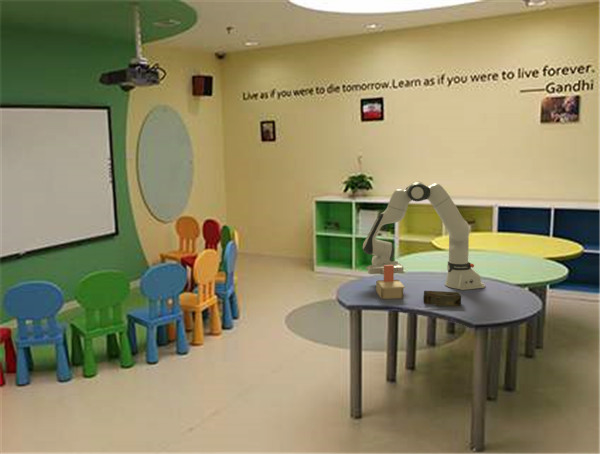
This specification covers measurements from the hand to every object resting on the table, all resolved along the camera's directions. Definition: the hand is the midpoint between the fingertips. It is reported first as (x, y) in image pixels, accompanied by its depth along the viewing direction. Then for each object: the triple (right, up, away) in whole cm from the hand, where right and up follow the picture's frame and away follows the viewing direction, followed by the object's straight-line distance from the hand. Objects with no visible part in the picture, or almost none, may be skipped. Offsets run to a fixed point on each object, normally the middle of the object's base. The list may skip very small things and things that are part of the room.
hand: (388, 272), depth 312 cm
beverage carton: (+26, -16, -16) cm, 34 cm away
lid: (0, -6, -5) cm, 8 cm away
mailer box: (0, -13, -1) cm, 13 cm away
